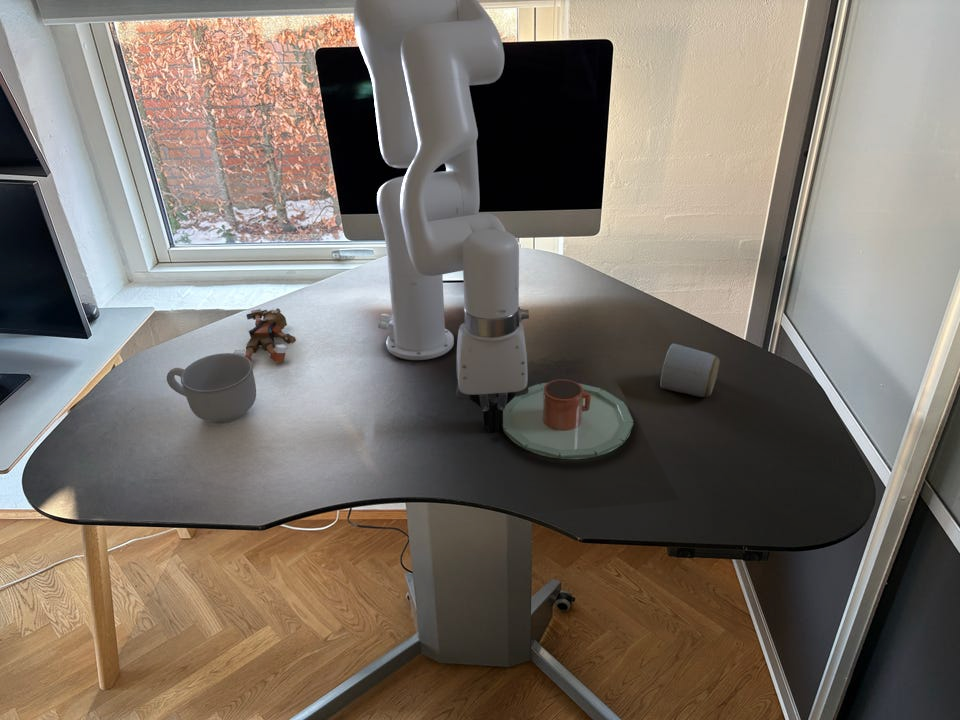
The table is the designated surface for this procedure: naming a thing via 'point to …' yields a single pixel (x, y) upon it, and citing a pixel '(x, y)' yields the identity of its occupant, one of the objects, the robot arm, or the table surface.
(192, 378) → the teacup
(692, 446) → the table surface
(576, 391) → the espresso cup
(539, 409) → the plate
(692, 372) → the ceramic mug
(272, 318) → the character figurine
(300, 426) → the table surface
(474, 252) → the robot arm
